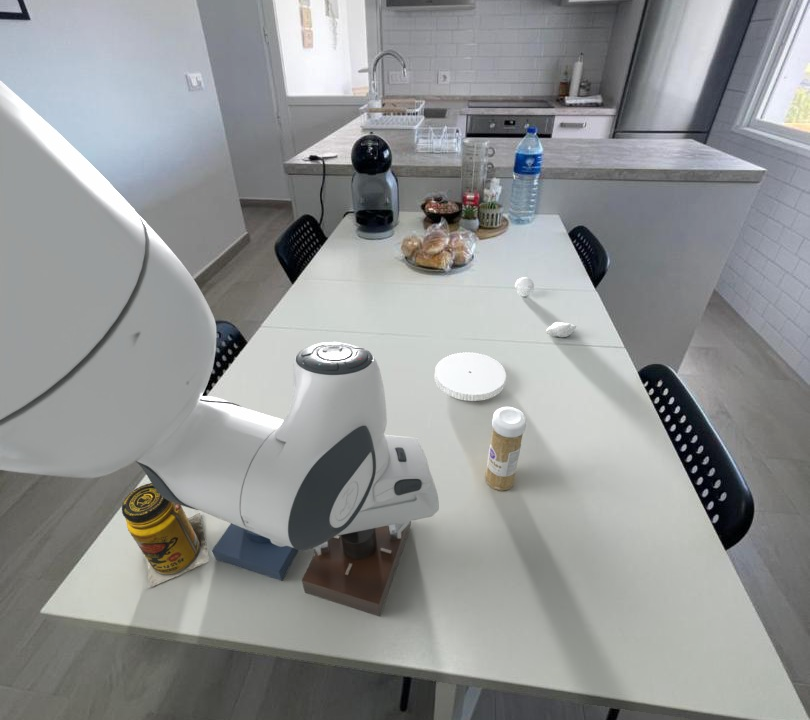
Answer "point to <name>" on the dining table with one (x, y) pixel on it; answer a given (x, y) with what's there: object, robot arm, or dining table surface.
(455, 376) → the plastic lid
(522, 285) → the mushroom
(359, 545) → the dial
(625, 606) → the dining table surface
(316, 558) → the dial panel
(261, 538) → the button housing
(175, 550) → the condiment
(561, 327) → the dumpling
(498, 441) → the sprinkles bottle
